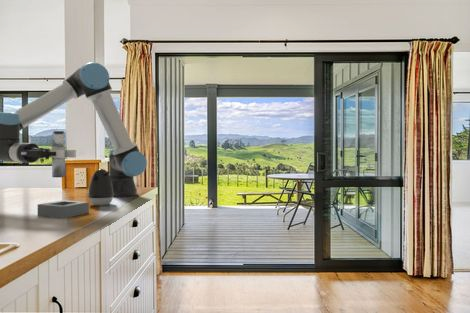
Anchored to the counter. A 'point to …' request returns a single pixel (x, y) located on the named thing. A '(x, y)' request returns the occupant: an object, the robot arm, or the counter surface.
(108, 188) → the dark grey egg shape
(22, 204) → the counter surface
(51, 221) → the counter surface
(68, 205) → the socket block
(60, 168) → the tube
